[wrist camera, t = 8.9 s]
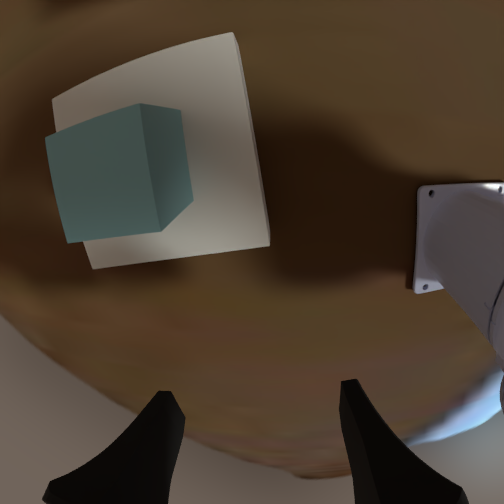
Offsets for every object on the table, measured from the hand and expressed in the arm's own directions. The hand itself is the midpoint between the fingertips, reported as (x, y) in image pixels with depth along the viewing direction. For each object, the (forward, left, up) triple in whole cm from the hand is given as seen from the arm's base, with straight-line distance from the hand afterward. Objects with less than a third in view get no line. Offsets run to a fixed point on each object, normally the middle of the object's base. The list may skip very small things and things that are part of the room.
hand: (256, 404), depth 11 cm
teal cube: (+5, -10, -7) cm, 13 cm away
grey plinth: (+5, -10, -10) cm, 15 cm away
